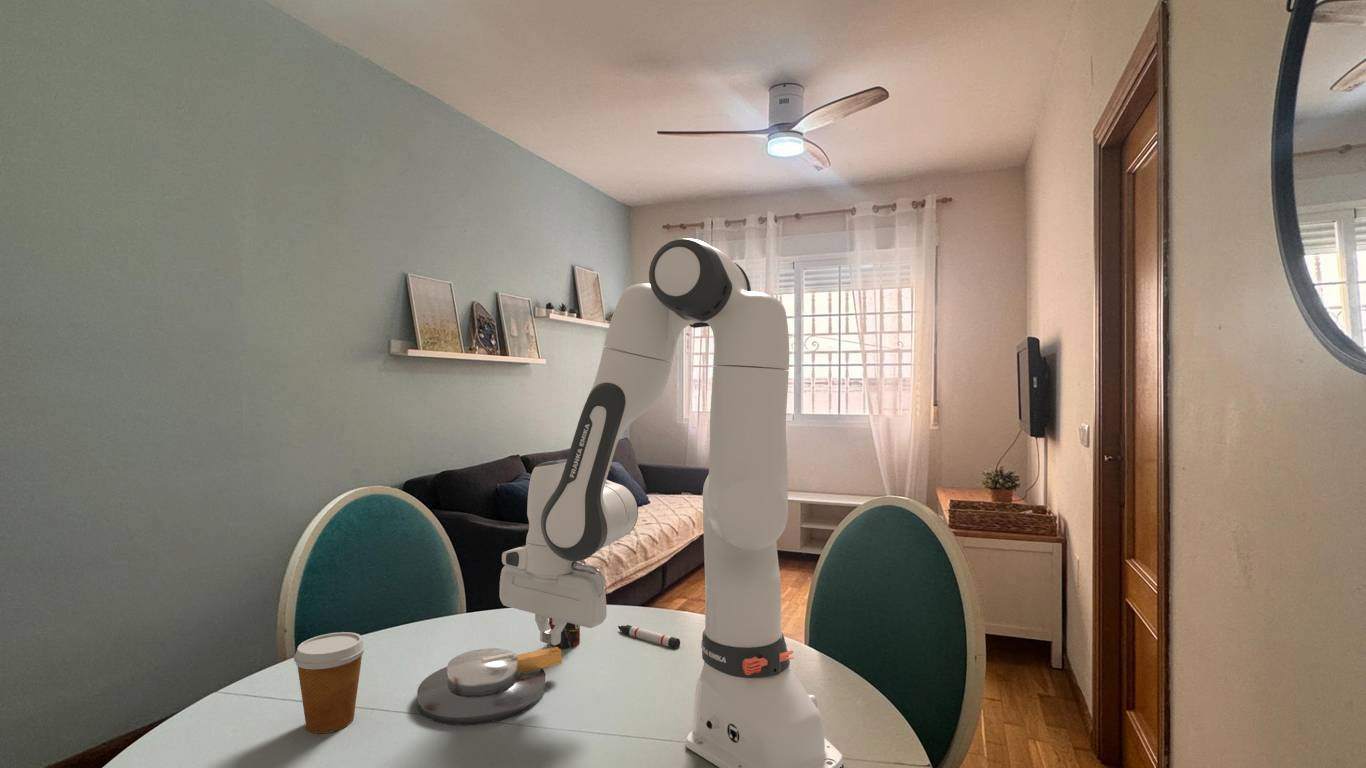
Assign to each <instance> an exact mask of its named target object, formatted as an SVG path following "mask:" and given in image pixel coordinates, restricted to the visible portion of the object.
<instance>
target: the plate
mask: <svg viewBox="0 0 1366 768" xmlns="http://www.w3.org/2000/svg"><path fill="white" fill-rule="evenodd" d="M417 687H418V688H417V692H416V694H417V695H416V696H417V698H416V700H417V701H416V702H417V703H416V704H417V705H416V706H417V709H418V712H419V713H420V714H421V715H422V716H423V717H424V718H426V719H428V720H430V721H433V722H436V723H439V724H445V725H453V726H473V725H474V726H475V725H481V724H482V725H483V724H488V723H494V722H499V721H502V720H503V721H504V720H505V719H508V718H512V717H514V716H517V715H519V714H522V713H523V712H525V711H527V710H529V709H531V708H533V707H534V706H535V705H536V704H538V703H539V702H540V701H541V700H542V698H543V697H544V695H545V692H546V672H545V670H544V669H543V668H540V669H536V670H531V671H527V672H522V673H518V678H517V680H516V682H515V683H514V684H512V685H511V686H509V687H508V688H506V689H503V690H501V691H498V692H495V693H491V694H485V695H474V696H471V695H461V694H457V693H454V692H452V691H451V690H449V688H448V686H447V666H445V667H443V668H441V669H438V670H436V671H434V672H432V673H431V674H429V675H427V677H425V678H424V679H423V680H422V681H421V683H420V684H419V686H417Z"/></svg>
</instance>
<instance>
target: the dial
mask: <svg viewBox="0 0 1366 768" xmlns="http://www.w3.org/2000/svg"><path fill="white" fill-rule="evenodd" d="M562 664H563V663H562V649H559V648H558V647H553V648H552V647H550V648H548V647H547V648H544V649H540V650H535V651H530V652H526V653H521V654H520V653H519V654H516V653H515V652H513V651H512V650H509V649H504V648H496V647H495V648H493V647H492V648H491V647H490V648H480V649H479V648H478V649H474V650H470V651H467V652H464V653H461V654H458V655H457V656H456V655H455V656H454V657H453V658H451V659H450V660H449V662H448V663H447V666H446V667H447V686H448V688H449V690H451V691H452V692H454V693H457V694H461V695H471V696H474V695H485V694H491V693H495V692H498V691H501V690H503V689H506V688H508V687H509V686H511V685H512V684H514V683H515V682H516V680H517V678H518V673H522V672H527V671H531V670H536V669H540V668H542V669H543V668H549V667H554V666H559V665H562Z"/></svg>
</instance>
